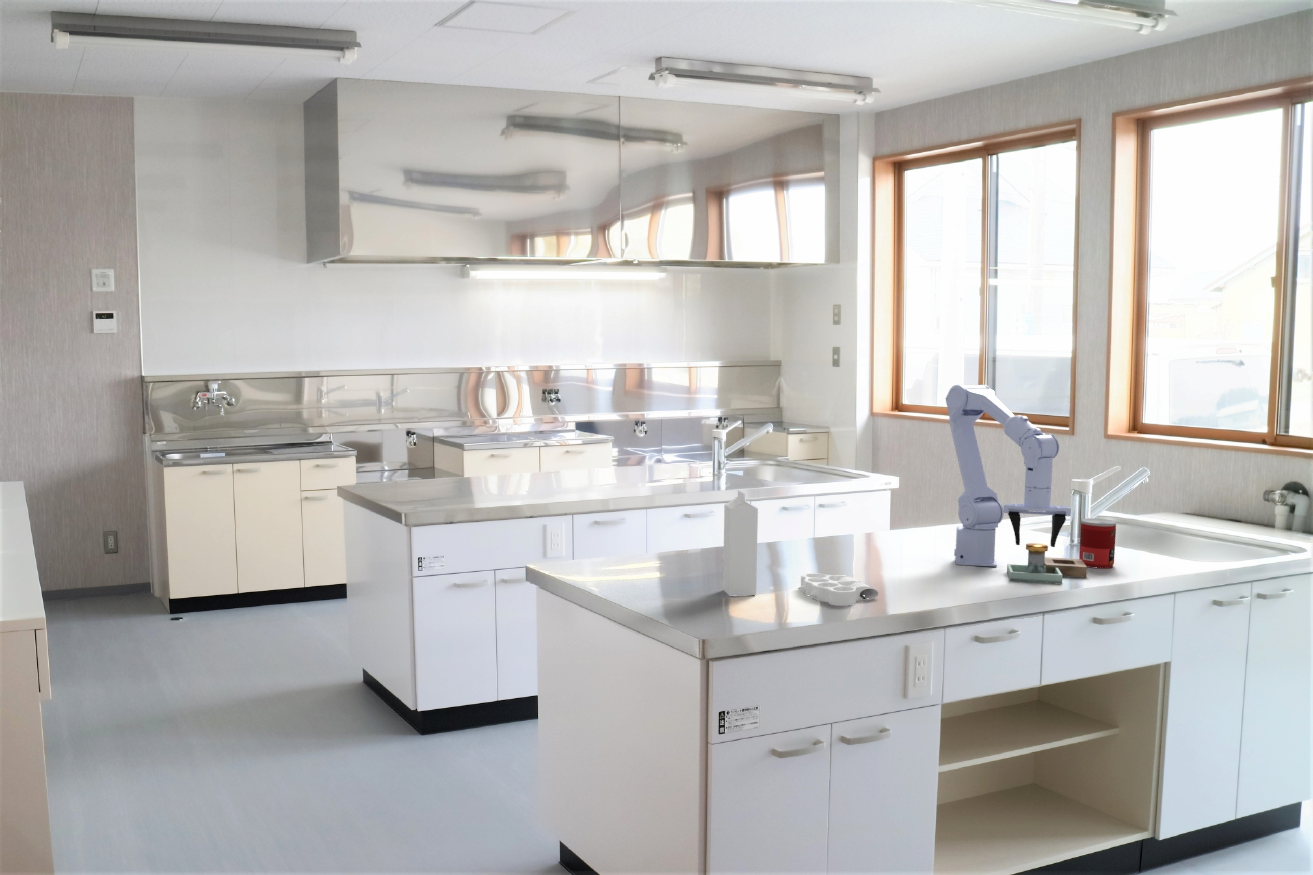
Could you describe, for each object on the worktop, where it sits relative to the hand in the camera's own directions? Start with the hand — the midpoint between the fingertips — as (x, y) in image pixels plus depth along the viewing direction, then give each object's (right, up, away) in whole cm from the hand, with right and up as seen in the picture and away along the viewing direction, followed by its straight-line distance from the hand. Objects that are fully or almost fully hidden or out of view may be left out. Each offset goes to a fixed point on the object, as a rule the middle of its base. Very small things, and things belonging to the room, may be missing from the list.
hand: (1035, 545), depth 250 cm
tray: (0, -8, +1) cm, 8 cm away
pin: (+1, -7, +1) cm, 7 cm away
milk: (-70, -9, -17) cm, 72 cm away
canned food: (+21, -7, +16) cm, 27 cm away
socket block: (+9, -7, +7) cm, 14 cm away
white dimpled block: (-49, -10, -18) cm, 53 cm away
